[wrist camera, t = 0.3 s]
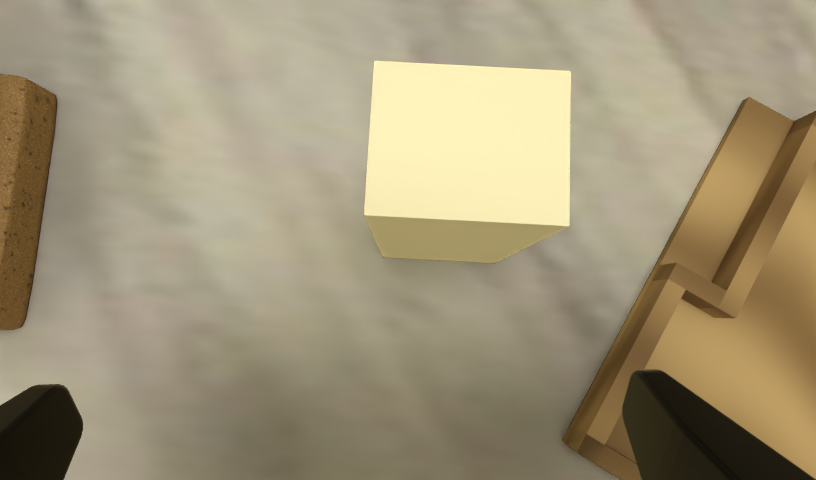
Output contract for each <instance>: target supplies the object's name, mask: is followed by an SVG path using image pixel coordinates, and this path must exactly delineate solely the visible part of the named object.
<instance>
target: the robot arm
mask: <svg viewBox="0 0 816 480" xmlns="http://www.w3.org/2000/svg"><path fill="white" fill-rule="evenodd" d="M622 416H623V421H624V425H625V428H626V431H627V434H628V437H629V441H630V444H631V447H632V450H633V454H634V457H635V460H636V463H637V467H638V470H639V473H640V476H641V479H642V480H816V479H815V478H813V477H812V476H811V475H809V474H808V473H806V472H805V471H803V470H802V469H801V468H799V467H798V466H796V465H795V464H794V463H792V462H791V461H789V460H788V459H787V458H785V457H784V456H782V455H781V454H780V453H778V452H777V451H775V450H774V449H772V448H771V447H770V446H768V445H767V444H765V443H764V442H763V441H761V440H760V439H758V438H757V437H756V436H754V435H753V434H751V433H750V432H749V431H747V430H746V429H744V428H743V427H741V426H740V425H739V424H737V423H736V422H734V421H733V420H732V419H730V418H729V417H727V416H726V415H725V414H723V413H722V412H720V411H719V410H718V409H716V408H715V407H713V406H712V405H710V404H709V403H708V402H706V401H705V400H703V399H702V398H701V397H699V396H698V395H696V394H695V393H694V392H692V391H691V390H689V389H688V388H687V387H685V386H684V385H682V384H681V383H679V382H678V381H677V380H675V379H674V378H672V377H671V376H670V375H668V374H667V373H665V372H664V371H662V370H658V369H644V370H635V371H634V372H633V373H632V374H631V376H630V379H629V383H628V387H627V390H626V394H625V398H624V401H623V405H622ZM82 431H83V420H82V417H81V415H80V413H79V411H78V409H77V407H76V405H75V403H74V401H73V399H72V397H71V395H70V393H69V391H68V389H67V388H66V387H65V386H63V385H60V384H49V385H35V386H32V387H30V388H28V389H27V390H25V391H23V392H22V393H20V394H19V395H17V396H15V397H14V398H12V399H10V400H9V401H7V402H5V403H4V404H2V405H0V480H64V478H65V475H66V473H67V470H68V468H69V465H70V463H71V460H72V458H73V455H74V453H75V450H76V448H77V445H78V443H79V440H80V438H81V435H82Z"/></svg>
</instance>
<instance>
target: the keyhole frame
mask: <svg viewBox="0 0 816 480" xmlns="http://www.w3.org/2000/svg"><path fill="white" fill-rule="evenodd" d="M644 369H658V370H662V371H664V372H665V373H667V374H668V375H670V376H671V377H672V378H674V379H675V380H677V381H678V382H679V383H681V384H682V385H684V386H685V387H687V388H688V389H689V390H691V391H692V392H694V393H695V394H696V395H698V396H699V397H701V398H702V399H703V400H705V401H706V402H708V403H709V404H710V405H712V406H713V407H715V408H716V409H718V410H719V411H720V412H722V413H723V414H725V415H726V416H727V417H729V418H730V419H732V420H733V421H734V422H736V423H737V424H739V425H740V426H741V427H743V428H744V429H746V430H747V431H749V432H750V433H751V434H753V435H754V436H756V437H757V438H758V439H760V440H761V441H763V442H764V443H765V444H767V445H768V446H770V447H771V448H772V449H774V450H775V451H777V452H778V453H780V454H781V455H782V456H784V457H785V458H787V459H788V460H789V461H791V462H792V463H794V464H795V465H796V466H798V467H799V468H801V469H802V470H803V471H805V472H806V473H808V474H809V475H811V476H812V477H813V478H815V479H816V111H814V112H812V113H810V114H808V115H806V116H804V117H802V118H800V119H798V120H796V121H792V120H791V119H789V118H787V117H785V116H783V115H781V114H780V113H778V112H776V111H774V110H772V109H770V108H769V107H767V106H765V105H763V104H761V103H759V102H758V101H756V100H754V99H752V98H750V97H748V98H747V99H745V100H743V102H742V104H741V106H740V108H739V110H738V111H737V113H736V115H735V117H734V119H733V121H732V123H731V125H730V126H729V128H728V130H727V132H726V134H725V136H724V138H723V139H722V141H721V143H720V145H719V147H718V149H717V151H716V153H715V154H714V156H713V158H712V160H711V162H710V164H709V166H708V168H707V169H706V171H705V173H704V175H703V177H702V179H701V181H700V183H699V184H698V186H697V188H696V190H695V192H694V194H693V196H692V198H691V199H690V201H689V203H688V205H687V207H686V209H685V211H684V213H683V214H682V216H681V218H680V220H679V222H678V224H677V226H676V228H675V229H674V231H673V233H672V235H671V237H670V239H669V241H668V243H667V244H666V246H665V248H664V250H663V252H662V254H661V256H660V258H659V259H658V261H657V263H656V265H655V267H654V269H653V271H652V273H651V274H650V276H649V278H648V280H647V282H646V284H645V286H644V288H643V289H642V291H641V293H640V295H639V297H638V299H637V301H636V303H635V304H634V306H633V308H632V310H631V312H630V314H629V316H628V318H627V319H626V321H625V323H624V325H623V327H622V329H621V331H620V333H619V334H618V336H617V338H616V340H615V342H614V344H613V346H612V347H611V349H610V351H609V353H608V355H607V357H606V359H605V361H604V362H603V364H602V366H601V368H600V370H599V372H598V374H597V376H596V377H595V379H594V381H593V383H592V385H591V387H590V389H589V391H588V392H587V394H586V396H585V398H584V400H583V402H582V404H581V406H580V407H579V409H578V411H577V413H576V415H575V417H574V419H573V421H572V422H571V424H570V426H569V428H568V430H567V432H566V434H565V436H564V437H563V439H562V440H563V441H564V442H565V443H566V444H567V445H568V446H570V447H571V448H572V449H573V450H574V451H576V452H577V453H578V454H580V455H582V456H583V457H585V458H587V459H588V460H590V461H591V462H593V463H595V464H596V465H598V466H600V467H601V468H603V469H604V470H606V471H608V472H609V473H611V474H613V475H614V476H616V477H618V478H619V479H621V480H642V479H641V476H640V473H639V470H638V467H637V463H636V460H635V457H634V454H633V450H632V447H631V444H630V441H629V437H628V434H627V431H626V428H625V425H624V421H623V416H622V405H623V401H624V398H625V394H626V390H627V387H628V383H629V379H630V376H631V374H632V373H633V372H634V371H635V370H644Z"/></svg>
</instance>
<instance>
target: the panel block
mask: <svg viewBox="0 0 816 480" xmlns="http://www.w3.org/2000/svg"><path fill="white" fill-rule="evenodd" d="M570 88H571V71H559V70H540V69H520V68H501V67H482V66H463V65H444V64H425V63H406V62H387V61H374V73H373V88H372V103H371V118H370V133H369V148H368V163H367V178H366V193H365V209H364V216H365V218H366V221H367V223H368V225H369V227H370V230H371V232H372V234H373V236H374V239H375V241H376V243H377V245H378V248H379V250H380V252H381V254H382V256H383V257H388V258H407V259H426V260H444V261H463V262H482V263H497V262H499V261H501V260H503V259H505V258H507V257H509V256H511V255H513V254H515V253H517V252H519V251H521V250H523V249H525V248H527V247H529V246H531V245H533V244H535V243H537V242H539V241H541V240H543V239H545V238H547V237H549V236H551V235H553V234H555V233H557V232H559V231H561V230H563V229H565V228H567V227H569V204H570Z"/></svg>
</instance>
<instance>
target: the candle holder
mask: <svg viewBox="0 0 816 480" xmlns="http://www.w3.org/2000/svg"><path fill="white" fill-rule="evenodd" d="M56 107H57V101H56V97H55V95H54V94H52V93H51V92H49V91H47V90H45V89H44V88H42V87H40V86H39V85H37V84H35V83H33V82H32V81H30V80H28V79H26V78H23V77H19V76H13V75H4V74H0V330H13V329H16V328H20V327H21V326H22V324H23V322H24V320H25V317H26V312H27V307H28V302H29V297H30V292H31V288H32V281H33V274H34V267H35V260H36V254H37V247H38V240H39V233H40V226H41V219H42V213H43V206H44V199H45V192H46V185H47V178H48V172H49V165H50V158H51V151H52V144H53V137H54V130H55V118H56Z"/></svg>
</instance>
